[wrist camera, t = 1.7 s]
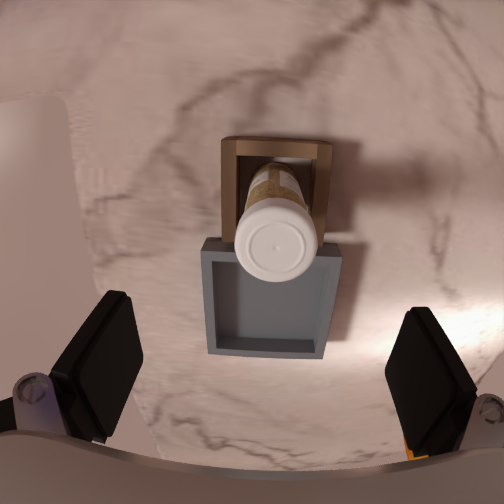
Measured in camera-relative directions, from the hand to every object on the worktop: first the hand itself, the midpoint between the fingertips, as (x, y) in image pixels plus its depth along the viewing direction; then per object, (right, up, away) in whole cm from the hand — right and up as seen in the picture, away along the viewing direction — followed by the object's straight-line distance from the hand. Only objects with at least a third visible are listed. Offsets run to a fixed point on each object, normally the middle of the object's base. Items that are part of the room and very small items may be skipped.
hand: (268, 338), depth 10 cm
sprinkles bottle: (+2, +9, +19) cm, 21 cm away
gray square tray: (+1, -2, +24) cm, 24 cm away
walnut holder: (+2, +9, +19) cm, 21 cm away
